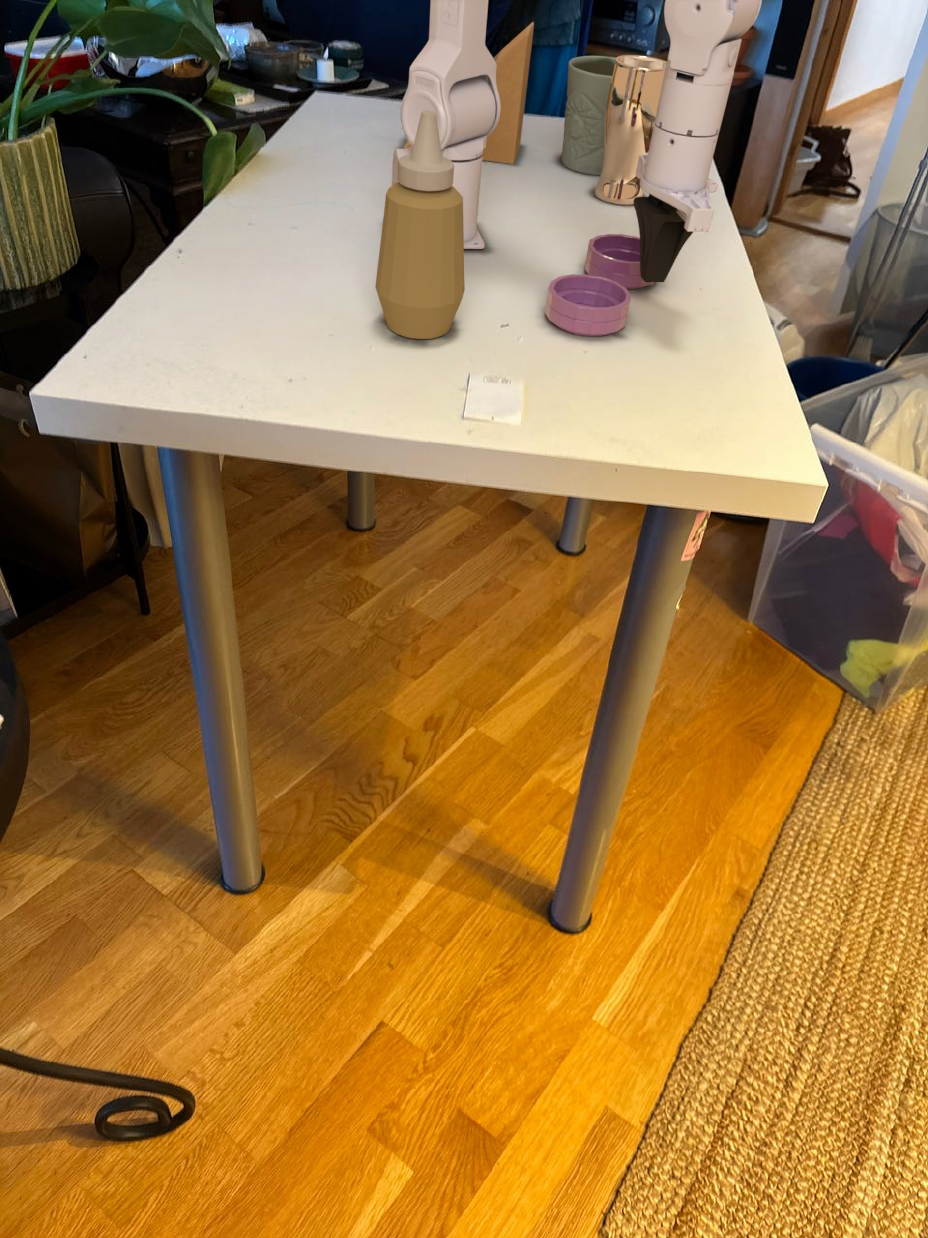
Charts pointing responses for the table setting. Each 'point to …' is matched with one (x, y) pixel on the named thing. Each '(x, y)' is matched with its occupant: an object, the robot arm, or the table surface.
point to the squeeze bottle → (422, 241)
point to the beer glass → (629, 125)
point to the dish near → (587, 304)
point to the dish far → (616, 259)
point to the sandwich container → (509, 98)
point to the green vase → (586, 113)
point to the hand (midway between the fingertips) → (652, 279)
